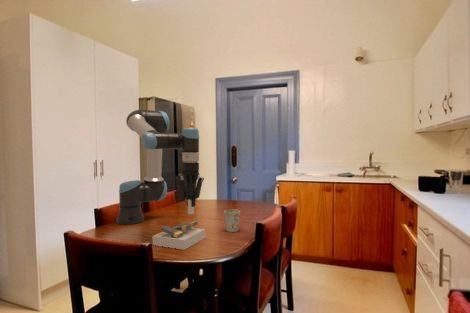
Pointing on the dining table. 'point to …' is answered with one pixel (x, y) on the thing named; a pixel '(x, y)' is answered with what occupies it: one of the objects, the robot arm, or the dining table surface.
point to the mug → (232, 219)
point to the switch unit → (182, 242)
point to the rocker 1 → (172, 231)
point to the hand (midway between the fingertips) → (190, 213)
